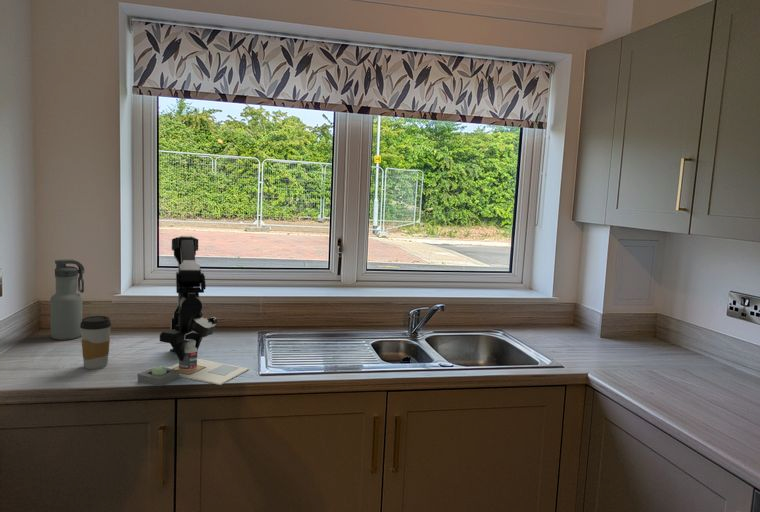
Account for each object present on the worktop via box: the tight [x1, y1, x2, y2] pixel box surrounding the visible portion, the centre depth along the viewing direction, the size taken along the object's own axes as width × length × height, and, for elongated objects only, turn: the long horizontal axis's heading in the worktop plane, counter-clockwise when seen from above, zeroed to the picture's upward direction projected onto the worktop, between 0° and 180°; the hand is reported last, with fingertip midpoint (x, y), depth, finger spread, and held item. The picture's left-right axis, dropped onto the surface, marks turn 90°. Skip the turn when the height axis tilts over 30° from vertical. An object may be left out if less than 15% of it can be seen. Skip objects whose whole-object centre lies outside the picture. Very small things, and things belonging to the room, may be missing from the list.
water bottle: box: [49, 258, 85, 341], centre depth 181 cm, size 10×10×28 cm
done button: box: [151, 365, 168, 376], centre depth 148 cm, size 4×4×2 cm
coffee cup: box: [80, 315, 112, 370], centre depth 155 cm, size 8×8×15 cm
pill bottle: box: [178, 339, 198, 371], centre depth 157 cm, size 5×5×9 cm
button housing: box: [137, 365, 181, 387], centre depth 148 cm, size 8×8×2 cm
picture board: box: [167, 358, 250, 386], centre depth 157 cm, size 22×15×1 cm
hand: (187, 357), depth 157 cm, fingers open, 6 cm apart
